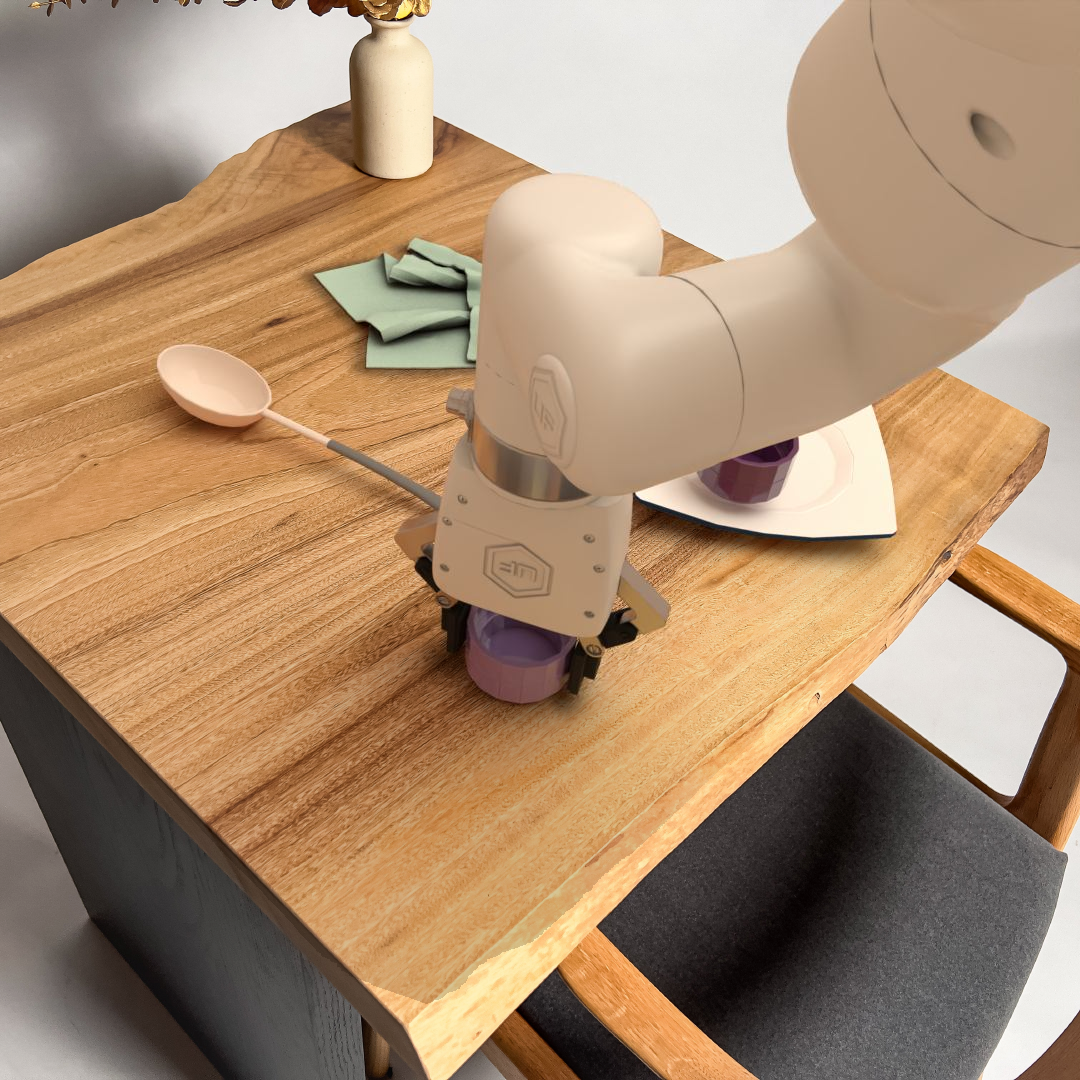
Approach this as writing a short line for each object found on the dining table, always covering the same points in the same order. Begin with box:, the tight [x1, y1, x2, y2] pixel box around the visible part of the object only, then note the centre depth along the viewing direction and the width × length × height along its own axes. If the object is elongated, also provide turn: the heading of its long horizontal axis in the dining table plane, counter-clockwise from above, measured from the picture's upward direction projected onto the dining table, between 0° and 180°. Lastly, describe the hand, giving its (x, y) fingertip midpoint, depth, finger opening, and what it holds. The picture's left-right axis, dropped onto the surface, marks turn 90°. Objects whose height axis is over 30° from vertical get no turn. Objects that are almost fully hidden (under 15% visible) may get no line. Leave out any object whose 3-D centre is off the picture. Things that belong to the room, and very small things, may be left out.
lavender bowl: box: [464, 605, 578, 704], centre depth 61 cm, size 7×7×4 cm
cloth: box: [313, 237, 482, 370], centre depth 88 cm, size 20×22×2 cm
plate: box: [633, 404, 898, 543], centre depth 77 cm, size 20×20×3 cm
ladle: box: [156, 343, 442, 511], centre depth 73 cm, size 6×28×5 cm, turn 61°
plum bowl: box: [697, 437, 799, 504], centre depth 71 cm, size 7×7×4 cm
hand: (519, 655), depth 61 cm, fingers open, 7 cm apart
